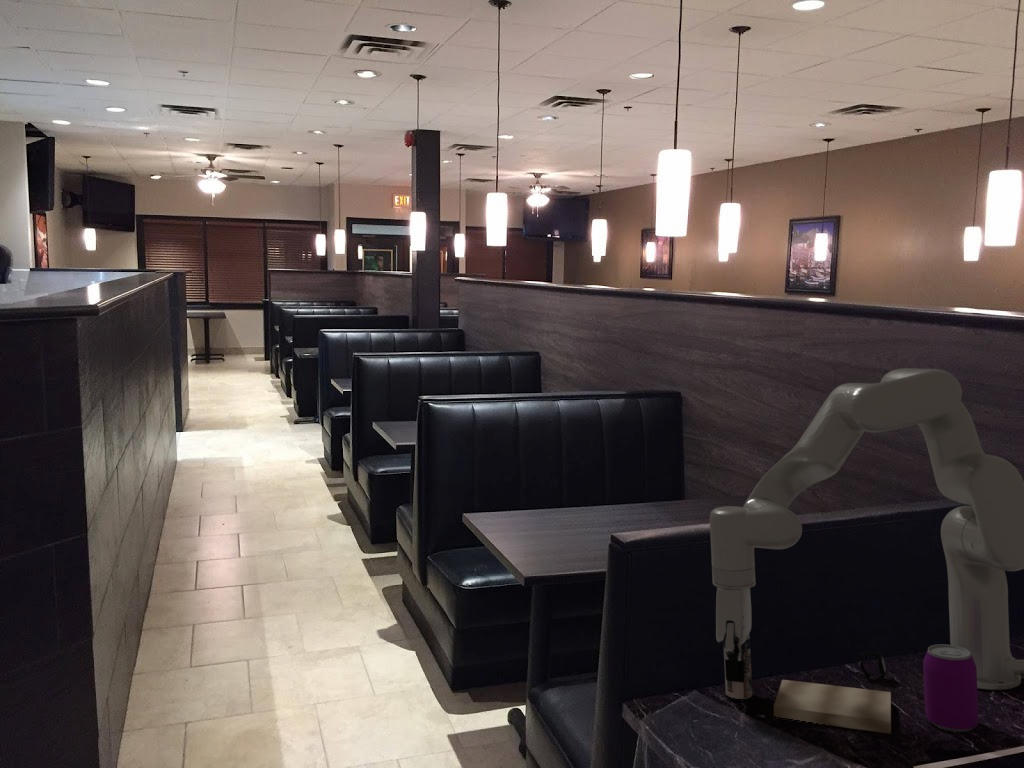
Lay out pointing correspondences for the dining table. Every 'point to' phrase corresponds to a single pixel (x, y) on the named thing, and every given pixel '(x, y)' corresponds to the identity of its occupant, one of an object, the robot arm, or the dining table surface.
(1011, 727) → the dining table surface
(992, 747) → the dining table surface
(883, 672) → the smartwatch
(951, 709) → the beverage can
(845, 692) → the birch board
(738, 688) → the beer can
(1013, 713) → the dining table surface
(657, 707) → the dining table surface
